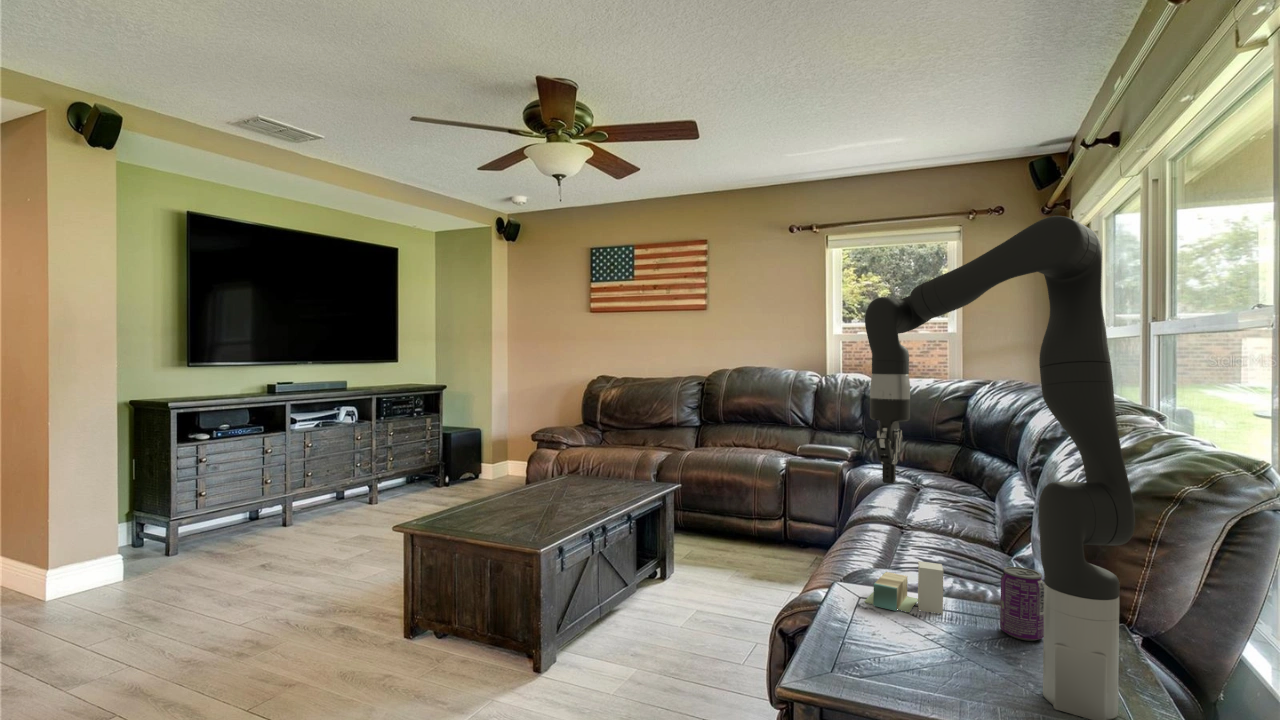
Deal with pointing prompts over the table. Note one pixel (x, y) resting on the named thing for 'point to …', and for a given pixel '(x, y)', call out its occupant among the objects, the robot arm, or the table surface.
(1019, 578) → the beverage can
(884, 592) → the birch block
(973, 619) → the table surface
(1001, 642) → the table surface
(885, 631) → the table surface
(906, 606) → the mat
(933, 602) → the grey block
